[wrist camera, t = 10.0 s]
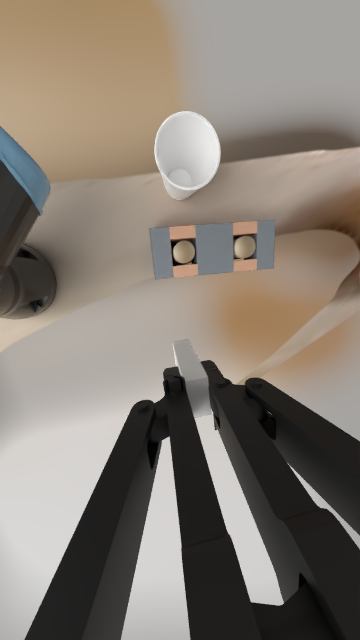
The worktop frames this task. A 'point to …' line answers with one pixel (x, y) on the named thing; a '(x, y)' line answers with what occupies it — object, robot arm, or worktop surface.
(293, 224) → the worktop surface
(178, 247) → the peg
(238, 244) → the peg
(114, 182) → the worktop surface
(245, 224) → the block
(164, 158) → the cup
